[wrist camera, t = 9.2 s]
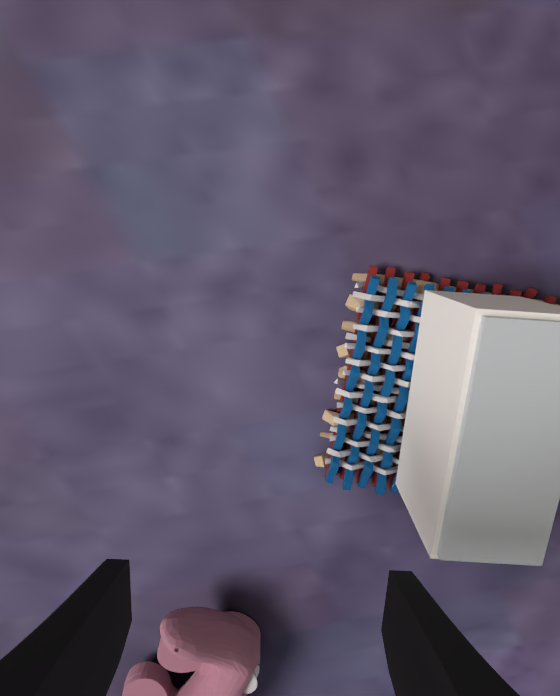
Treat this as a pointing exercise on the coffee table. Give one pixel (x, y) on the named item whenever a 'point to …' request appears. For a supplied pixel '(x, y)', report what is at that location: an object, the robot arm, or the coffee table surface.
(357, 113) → the coffee table surface
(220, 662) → the pink curved figurine
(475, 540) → the painted block
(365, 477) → the woven mat
